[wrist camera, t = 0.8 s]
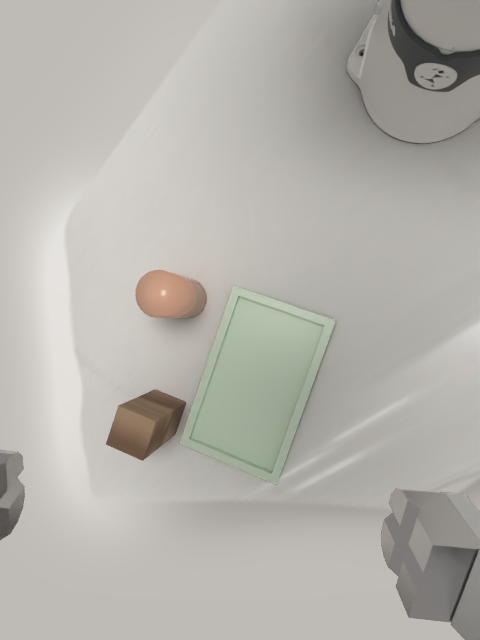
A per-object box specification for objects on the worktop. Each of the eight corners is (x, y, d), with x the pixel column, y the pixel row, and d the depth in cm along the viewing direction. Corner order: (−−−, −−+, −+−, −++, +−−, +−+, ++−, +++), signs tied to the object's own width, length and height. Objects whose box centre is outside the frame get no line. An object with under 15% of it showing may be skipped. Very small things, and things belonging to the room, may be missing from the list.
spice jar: (176, 273, 53) (144, 263, 43) (211, 286, 52) (186, 278, 42) (164, 310, 54) (129, 308, 44) (199, 323, 53) (171, 324, 43)
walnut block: (155, 389, 54) (118, 405, 44) (186, 402, 53) (155, 421, 43) (144, 421, 54) (105, 444, 44) (175, 434, 53) (142, 460, 43)
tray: (235, 286, 52) (233, 285, 50) (335, 320, 49) (335, 320, 48) (183, 440, 53) (179, 443, 52) (277, 480, 51) (276, 485, 49)
